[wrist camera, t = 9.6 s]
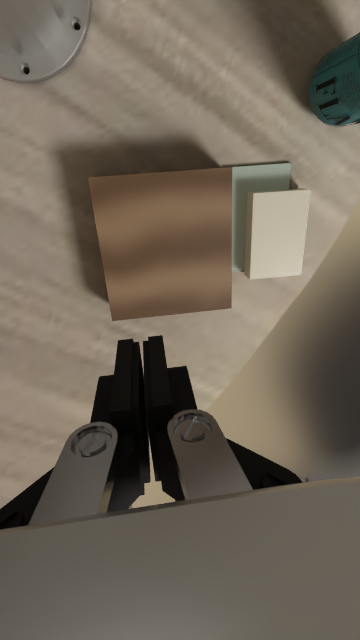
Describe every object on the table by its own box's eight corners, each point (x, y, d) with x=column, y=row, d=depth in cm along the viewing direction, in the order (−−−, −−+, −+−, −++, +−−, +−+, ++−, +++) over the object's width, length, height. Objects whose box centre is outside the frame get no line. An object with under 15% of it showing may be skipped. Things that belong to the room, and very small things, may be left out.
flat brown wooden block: (93, 177, 31) (87, 177, 28) (221, 167, 32) (232, 167, 29) (114, 306, 37) (112, 320, 34) (222, 295, 38) (231, 308, 35)
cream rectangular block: (310, 189, 32) (301, 188, 34) (253, 193, 31) (247, 192, 33) (301, 274, 36) (293, 269, 38) (249, 279, 35) (244, 274, 37)
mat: (224, 167, 32) (224, 167, 32) (289, 163, 33) (291, 163, 32) (224, 271, 37) (225, 272, 37) (282, 265, 37) (283, 266, 37)
